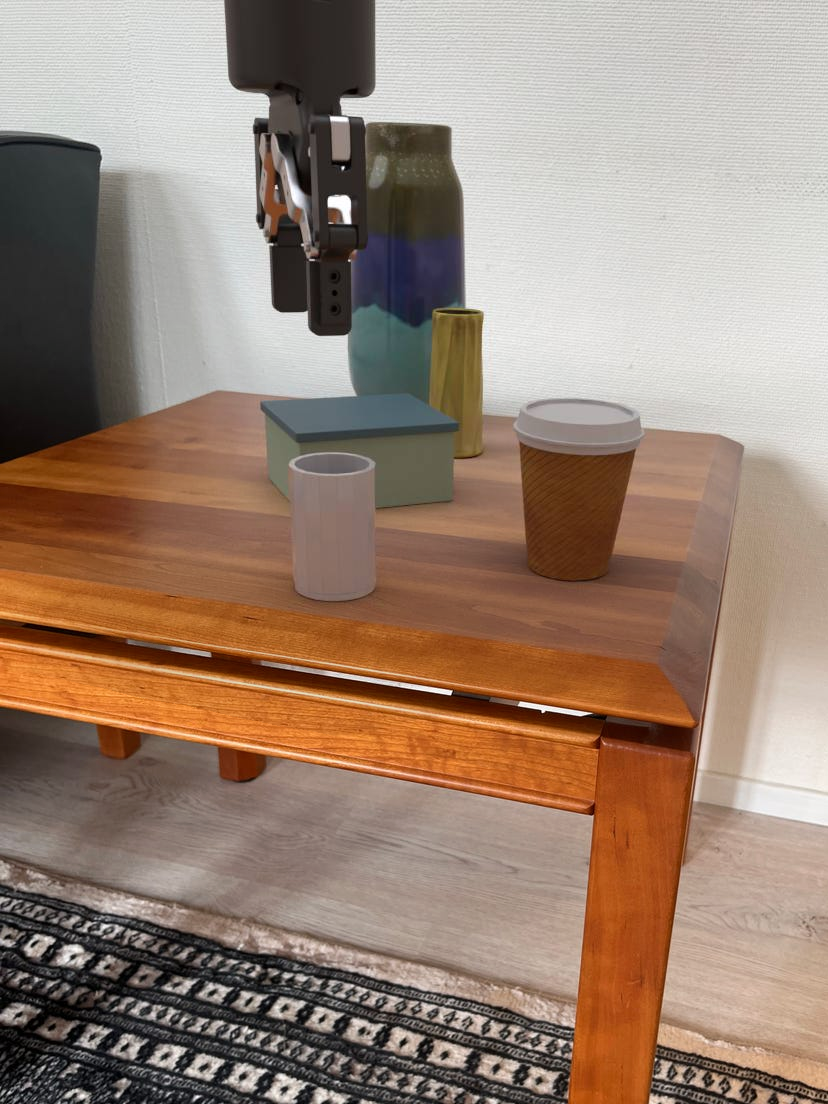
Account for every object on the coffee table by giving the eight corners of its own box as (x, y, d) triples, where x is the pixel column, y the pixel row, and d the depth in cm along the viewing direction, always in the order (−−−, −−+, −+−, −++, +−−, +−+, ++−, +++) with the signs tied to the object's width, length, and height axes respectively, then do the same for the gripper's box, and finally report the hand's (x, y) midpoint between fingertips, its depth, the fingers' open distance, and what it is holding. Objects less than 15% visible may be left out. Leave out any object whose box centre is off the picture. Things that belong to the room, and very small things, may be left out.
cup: (307, 606, 70) (302, 478, 66) (285, 576, 75) (279, 455, 71) (387, 595, 72) (386, 471, 68) (361, 567, 77) (359, 449, 73)
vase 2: (438, 460, 105) (441, 316, 99) (417, 445, 110) (418, 307, 104) (492, 456, 107) (498, 314, 101) (469, 441, 112) (473, 306, 106)
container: (299, 517, 87) (296, 433, 84) (264, 477, 97) (260, 401, 94) (457, 501, 92) (459, 422, 89) (407, 465, 103) (408, 393, 100)
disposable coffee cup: (627, 595, 74) (644, 430, 69) (497, 582, 75) (504, 420, 70) (632, 551, 82) (648, 401, 77) (515, 540, 84) (523, 392, 78)
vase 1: (437, 434, 115) (443, 122, 101) (327, 419, 119) (319, 119, 106) (481, 410, 126) (491, 128, 113) (380, 398, 131) (379, 125, 117)
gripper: (199, -5, 55) (219, 306, 62) (255, -43, 44) (272, 345, 51) (333, 9, 58) (338, 305, 65) (419, -24, 47) (414, 342, 53)
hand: (309, 322), depth 58 cm, fingers open, 8 cm apart
